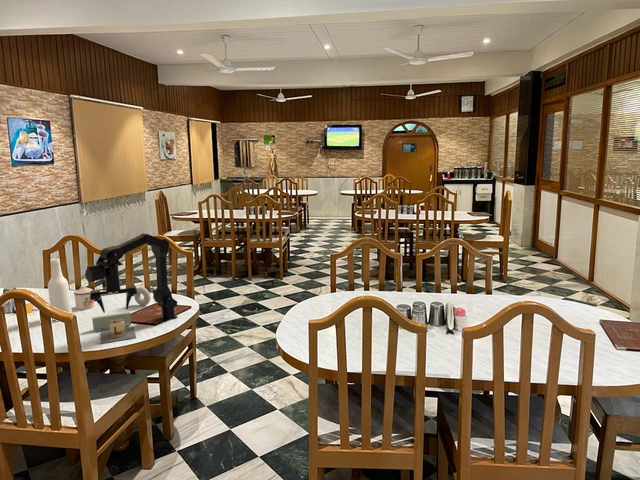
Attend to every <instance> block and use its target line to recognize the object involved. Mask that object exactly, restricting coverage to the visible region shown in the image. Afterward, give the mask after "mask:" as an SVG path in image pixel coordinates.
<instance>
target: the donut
mask: <svg viewBox="0 0 640 480" xmlns="http://www.w3.org/2000/svg"><path fill="white" fill-rule="evenodd" d="M136 288H137V294H134V296H133V297H134V301H135V302H136V303H137V304H138V305H139V306H142V307H143V306H144V307H145V306H147V305H149V303H150V302H151V293H150V292H149V290H148V289H147V288H145V287H143V286H141V287H136ZM142 296H143V298H142Z"/></svg>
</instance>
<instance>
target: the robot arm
mask: <svg viewBox="0 0 640 480" xmlns="http://www.w3.org/2000/svg"><path fill="white" fill-rule="evenodd" d="M143 245H148V246H150V248H151V252H152V254H153V255H154V257H155V258H154V259H155V270H156V271H155V272H156V288H155V289H154V290H153V289H152V294H153V297H152V299H154V302H155V303H156V304H157V305H158V307H161V316H159V319H161V317H162V319H161V320H163V319H164V320H163V321H165V322H167V321H170V320H174V319H176V318H177V319H178V315H176V314H175V307H177V306H178V301H177V300H176V299H175V298H173V294H172V291H171V289H170V287H169V282H168V265H167V264H168V263H167V256H168V253H169V251H170V241H168V240H167V239H165V238H159V237H156V236H154V235H151V234H149V233H144V232H143V233H141V234H139V235H137V236H135V237H133V238H131V239H129V240H127V241H125V242H123V243H121V244H117V245H112V246H108V247H105V248H103V249H102V250H101V251H100V255H99V257H98V258H97V260H96V262H95V264H94V265H93V264H92V265H87V266H86V270H85V273H84V276H85V280H86V281H87V282H88V283H93V282H97V281H101V285H102V286H101V287H102V288H105V291H103V290H102V291H100V289H95V290H93V289H92V290H93V291H91V292H90V300H94V302H97V304H98V305H99V306H100V308H101V310H102V312H103V314H105V313H106V309H105V305H104V302H103V298H102V297H105V296H111V295H119V294H120V295H121V294H126V295H125V297H126V298H125V302H126V303H125V309H126V310H128V309H129V305H130V301H131V299H132V298H133V297H134V294H137V288H138V287H137V286H136V285H135V284H133V285H126V288H121V281H120V280H121V279H120V274H119V273H120V272H119V266H120V267H121V266H123V265H124V263H123V262H121V261H119V260H120V259H122V258H123V256H124V255H125V254H127V253H129V252H131V251H133V250H135V249H138V248H140V247H142V246H143Z"/></svg>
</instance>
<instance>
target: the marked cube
mask: <svg viewBox="0 0 640 480" xmlns="http://www.w3.org/2000/svg"><path fill="white" fill-rule="evenodd" d="M109 322H110V329H109V330H110V332H111V338H114V337H120V336H126V332H125V328H126V327H125V323H124V318H123V319H117V320H110V321H109Z"/></svg>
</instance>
